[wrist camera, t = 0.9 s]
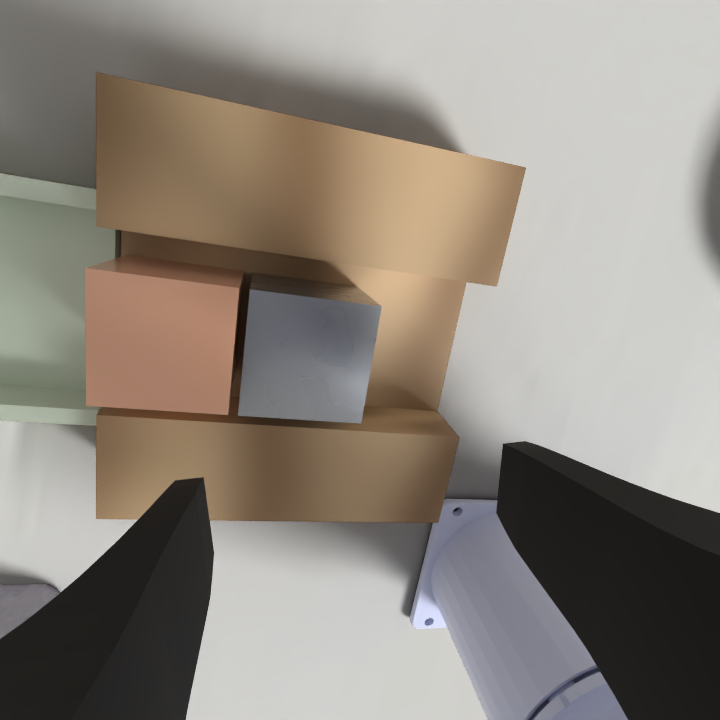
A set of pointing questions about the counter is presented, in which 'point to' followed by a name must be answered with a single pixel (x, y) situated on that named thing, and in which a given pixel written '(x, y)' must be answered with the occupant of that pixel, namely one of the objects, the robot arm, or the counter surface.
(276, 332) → the grey steel block
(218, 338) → the terracotta block
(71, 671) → the robot arm
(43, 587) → the stone block
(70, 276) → the sage tray
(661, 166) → the counter surface
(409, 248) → the oak channel board
